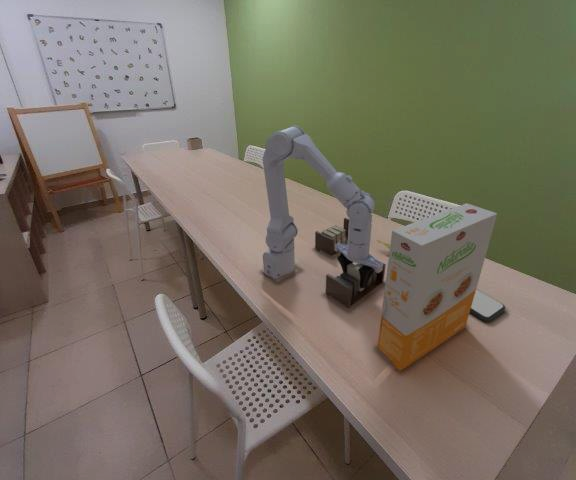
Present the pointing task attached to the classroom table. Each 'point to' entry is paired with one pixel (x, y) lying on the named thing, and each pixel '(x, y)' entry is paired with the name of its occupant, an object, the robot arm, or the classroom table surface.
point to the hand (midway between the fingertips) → (355, 281)
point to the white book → (354, 273)
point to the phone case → (485, 307)
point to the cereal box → (432, 281)
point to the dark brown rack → (331, 238)
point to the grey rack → (351, 286)
